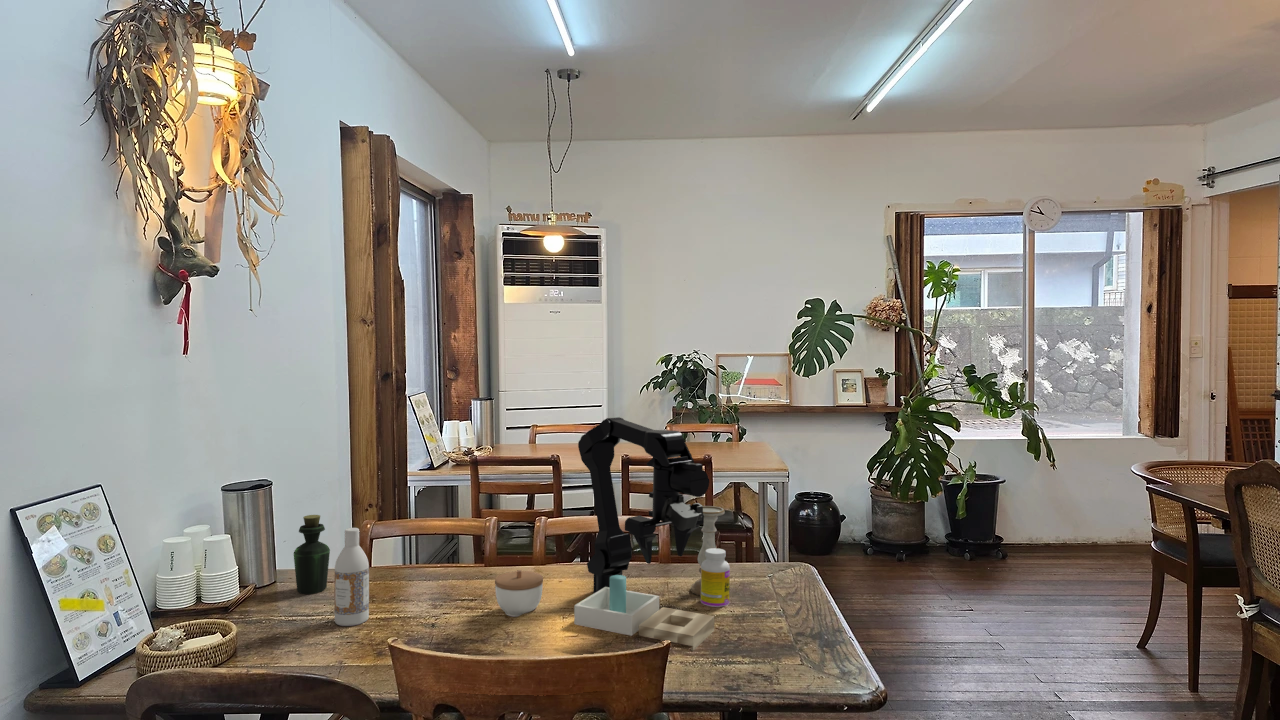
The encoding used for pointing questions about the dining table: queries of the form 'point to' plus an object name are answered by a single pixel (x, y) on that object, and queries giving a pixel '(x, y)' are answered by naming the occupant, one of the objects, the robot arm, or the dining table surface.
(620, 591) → the peg
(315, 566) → the potion bottle
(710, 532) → the candle holder
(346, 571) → the bath foam
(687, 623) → the bore plate
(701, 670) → the dining table surface
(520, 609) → the lidded jar
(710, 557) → the supplement bottle
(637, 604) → the open box
